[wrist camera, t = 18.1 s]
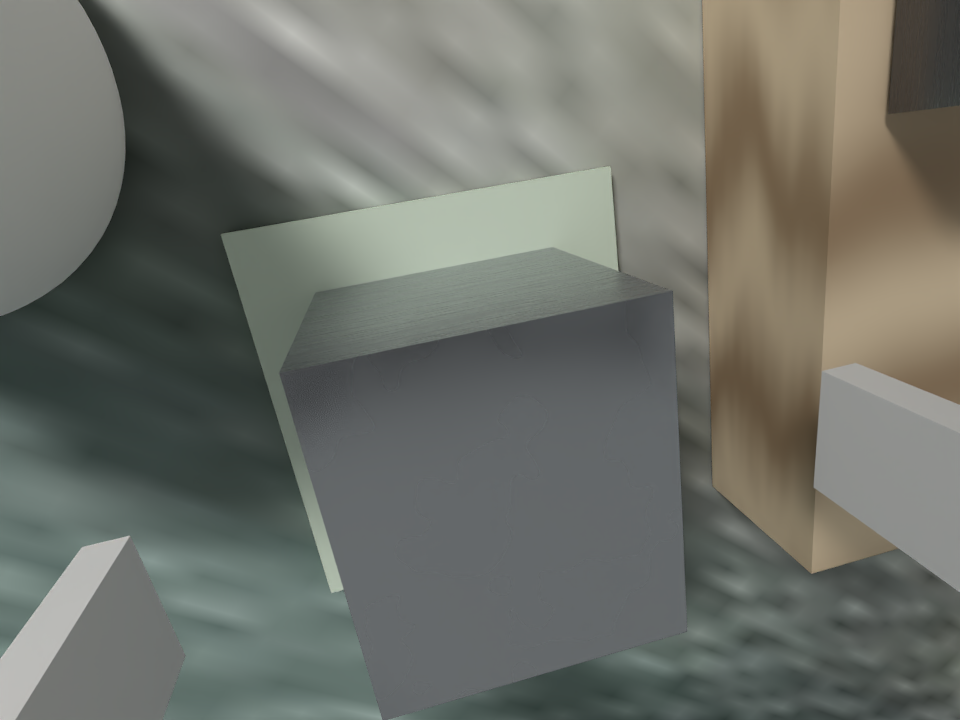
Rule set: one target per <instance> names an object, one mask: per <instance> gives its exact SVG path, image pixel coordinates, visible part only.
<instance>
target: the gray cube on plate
mask: <svg viewBox="0 0 960 720" xmlns="http://www.w3.org/2000/svg"><path fill="white" fill-rule="evenodd" d="M279 375H280V378H281V381H282V385H283V388H284V392H285V395H286V398H287V402H288V405H289V408H290V412H291V415H292V418H293V422H294V425H295V428H296V432H297V435H298V438H299V442H300V445H301V448H302V452H303V455H304V458H305V462H306V465H307V468H308V472H309V475H310V479H311V482H312V485H313V489H314V492H315V495H316V499H317V502H318V505H319V509H320V512H321V515H322V519H323V522H324V525H325V529H326V532H327V535H328V539H329V542H330V545H331V549H332V552H333V555H334V559H335V562H336V566H337V569H338V572H339V576H340V579H341V582H342V586H343V589H344V592H345V596H346V599H347V602H348V606H349V609H350V612H351V616H352V619H353V622H354V626H355V629H356V632H357V636H358V639H359V642H360V646H361V649H362V653H363V656H364V659H365V663H366V666H367V669H368V673H369V676H370V679H371V683H372V686H373V689H374V693H375V696H376V699H377V703H378V706H379V709H380V713H381V716H382V719H383V720H388V719H392V718H395V717H399V716H402V715H405V714H409V713H412V712H415V711H419V710H422V709H426V708H429V707H432V706H436V705H439V704H443V703H446V702H449V701H453V700H456V699H460V698H463V697H466V696H470V695H473V694H477V693H480V692H483V691H487V690H490V689H494V688H497V687H500V686H504V685H507V684H511V683H514V682H517V681H521V680H524V679H528V678H531V677H534V676H538V675H541V674H545V673H548V672H551V671H555V670H558V669H562V668H565V667H568V666H572V665H575V664H578V663H582V662H585V661H589V660H592V659H595V658H599V657H602V656H606V655H609V654H612V653H616V652H619V651H623V650H626V649H629V648H633V647H636V646H640V645H643V644H646V643H650V642H653V641H657V640H660V639H663V638H667V637H670V636H674V635H677V634H680V633H684V632H687V613H686V590H685V566H684V543H683V520H682V497H681V473H680V450H679V427H678V404H677V380H676V357H675V334H674V310H673V291H672V290H669V289H666V288H663V287H661V286H658V285H655V284H652V283H650V282H647V281H644V280H641V279H639V278H636V277H633V276H630V275H628V274H625V273H622V272H620V271H617V270H614V269H611V268H609V267H606V266H603V265H600V264H598V263H595V262H592V261H589V260H587V259H584V258H581V257H578V256H576V255H573V254H570V253H568V252H565V251H562V250H559V249H557V248H554V247H550V248H545V249H539V250H534V251H529V252H524V253H518V254H513V255H508V256H503V257H498V258H492V259H487V260H482V261H477V262H472V263H466V264H461V265H456V266H451V267H446V268H440V269H435V270H430V271H425V272H419V273H414V274H409V275H404V276H399V277H393V278H388V279H383V280H378V281H373V282H367V283H362V284H357V285H352V286H347V287H341V288H336V289H331V290H326V291H320V292H315V294H314V297H313V299H312V301H311V303H310V306H309V308H308V310H307V312H306V314H305V317H304V319H303V321H302V323H301V325H300V328H299V330H298V332H297V334H296V336H295V339H294V341H293V343H292V345H291V348H290V350H289V352H288V354H287V356H286V359H285V361H284V363H283V365H282V367H281V370H280V372H279Z"/></svg>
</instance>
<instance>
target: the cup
mask: <svg viewBox="0 0 960 720" xmlns="http://www.w3.org/2000/svg"><path fill="white" fill-rule="evenodd" d="M125 152H126V149H125V127H124V118H123V111H122V106H121V101H120V96H119V92H118V88H117V85H116V81H115V78H114V74H113V71H112V68H111V66H110V63H109V60H108V58H107V55H106V52H105V50H104V48H103V45H102V43H101V41H100V39H99V37H98V35H97V33H96V30H95V28H94V27H93V25H92V23H91V21H90V19H89V18H88V16H87V14H86V12H85V10H84V9H83V7H82V6H81V4H80V3H79V1H78V0H0V316H3V315H5V314H8V313H10V312H12V311H15V310H17V309H19V308H22V307H24V306H26V305H28V304H29V303H31V302H33V301H35V300H37V299H39V298H40V297H42V296H44V295H45V294H46V293H48V292H49V291H51V290H52V289H54V288H55V287H56V286H58V285H59V284H61V283H62V282H63V281H64V280H65V279H67V278H68V277H69V276H70V275H71V274H72V273H73V272H74V271H75V270H76V269H78V267H79V266H80V265H81V264H82V263H83V262H84V260H85V259H86V258H87V257H88V256H89V255H90V253H91V252H92V251H93V249H94V248H95V246H96V245H97V243H98V242H99V240H100V239H101V237H102V236H103V234H104V232H105V230H106V228H107V226H108V224H109V222H110V220H111V218H112V215H113V212H114V210H115V207H116V205H117V201H118V197H119V194H120V190H121V186H122V180H123V174H124V166H125Z"/></svg>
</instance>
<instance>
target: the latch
mask: <svg viewBox="0 0 960 720" xmlns="http://www.w3.org/2000/svg"><path fill="white" fill-rule="evenodd" d="M952 106H960V0H897V8H896V21H895V33H894V46H893V58H892V71H891V83H890V96H889V108H888V114H895V113H903V112H911V111H919V110H927V109H936V108H944V107H952Z"/></svg>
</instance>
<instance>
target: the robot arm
mask: <svg viewBox="0 0 960 720" xmlns="http://www.w3.org/2000/svg"><path fill="white" fill-rule="evenodd" d="M814 488H815V489H817V490H818V491H819V492H821V493H822V494H824V495H825V496H826V497H828V498H829V499H830V500H832V501H833V502H835V503H836V504H837V505H839V506H840V507H842V508H843V509H844V510H846V511H847V512H849V513H850V514H851V515H853V516H854V517H856V518H857V519H858V520H860V521H861V522H863V523H864V524H865V525H867V526H868V527H869V528H871V529H872V530H874V531H875V532H876V533H878V534H879V535H881V536H882V537H883V538H885V539H886V540H888V541H889V542H890V543H892V544H893V545H895V546H896V547H897V548H899V549H900V550H902V551H903V552H904V553H906V554H907V555H909V556H910V557H911V558H913V559H914V560H915V561H917V562H918V563H920V564H921V565H922V566H924V567H925V568H927V569H928V570H929V571H931V572H932V573H934V574H935V575H936V576H938V577H939V578H941V579H942V580H943V581H945V582H946V583H948V584H949V585H950V586H952V587H953V588H955V589H956V590H957V591H959V592H960V405H959V404H956V403H954V402H951V401H949V400H946V399H944V398H941V397H939V396H937V395H934V394H932V393H929V392H927V391H924V390H922V389H919V388H917V387H914V386H912V385H909V384H907V383H904V382H902V381H899V380H897V379H894V378H892V377H889V376H887V375H885V374H882V373H880V372H877V371H875V370H872V369H870V368H867V367H865V366H862V365H860V364H857V363H853V364H849V365H845V366H841V367H836V368H832V369H828V370H824V371H822V376H821V390H820V404H819V418H818V432H817V445H816V459H815V473H814ZM184 658H185V653H184V651H183V649H182V647H181V645H180V643H179V640H178V638H177V636H176V634H175V632H174V630H173V627H172V625H171V623H170V621H169V619H168V617H167V614H166V612H165V610H164V608H163V606H162V604H161V601H160V599H159V597H158V595H157V593H156V591H155V588H154V586H153V584H152V582H151V580H150V578H149V575H148V573H147V571H146V569H145V567H144V565H143V562H142V560H141V558H140V556H139V554H138V552H137V549H136V547H135V545H134V543H133V541H132V539H131V536H127V537H123V538H118V539H114V540H110V541H106V542H102V543H97V544H93V545H89V546H85V547H82V548H81V549H80V551H79V552H78V553H77V555H76V556H75V557H74V559H73V560H72V562H71V563H70V564H69V566H68V567H67V568H66V570H65V571H64V572H63V574H62V575H61V577H60V578H59V579H58V581H57V582H56V583H55V585H54V586H53V587H52V589H51V590H50V592H49V593H48V594H47V596H46V597H45V598H44V600H43V601H42V603H41V604H40V605H39V607H38V608H37V609H36V611H35V612H34V613H33V615H32V616H31V618H30V619H29V620H28V622H27V623H26V624H25V626H24V627H23V629H22V630H21V631H20V633H19V634H18V635H17V637H16V638H15V639H14V641H13V642H12V644H11V645H10V646H9V648H8V649H7V650H6V652H5V653H4V655H3V656H2V657H1V659H0V720H163V717H164V714H165V711H166V708H167V706H168V703H169V700H170V697H171V695H172V692H173V689H174V686H175V683H176V681H177V678H178V675H179V672H180V670H181V667H182V664H183V661H184Z"/></svg>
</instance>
